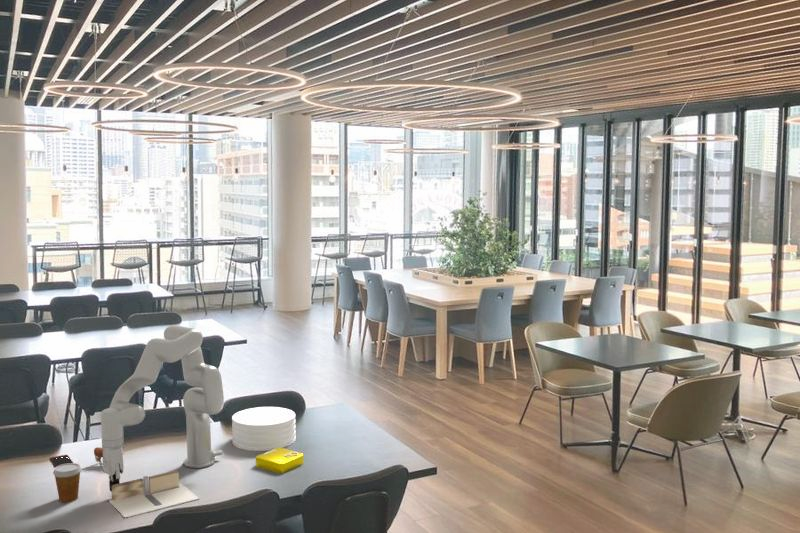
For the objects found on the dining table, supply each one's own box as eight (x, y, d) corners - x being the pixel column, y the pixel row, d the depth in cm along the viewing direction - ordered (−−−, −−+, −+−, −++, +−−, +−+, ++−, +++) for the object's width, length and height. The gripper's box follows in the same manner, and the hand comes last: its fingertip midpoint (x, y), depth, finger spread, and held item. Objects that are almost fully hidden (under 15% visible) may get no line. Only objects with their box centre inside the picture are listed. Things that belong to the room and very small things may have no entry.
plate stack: (264, 426, 374) (264, 403, 373) (308, 438, 358) (308, 413, 356) (219, 442, 351) (218, 417, 350) (264, 455, 335) (263, 429, 334)
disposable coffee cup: (59, 494, 293) (58, 463, 292) (86, 493, 294) (84, 462, 293) (50, 504, 284) (49, 472, 283) (77, 503, 285) (76, 471, 283)
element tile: (279, 456, 335) (278, 445, 334) (305, 463, 326) (305, 452, 326) (253, 467, 323) (253, 455, 322) (280, 475, 314) (280, 463, 314)
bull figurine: (122, 468, 320) (121, 448, 319) (92, 465, 323) (91, 446, 322) (128, 464, 324) (127, 445, 323) (98, 461, 327) (97, 442, 326)
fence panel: (142, 492, 292) (141, 478, 292) (143, 493, 291) (142, 479, 291) (112, 499, 286) (111, 485, 285) (113, 501, 285) (112, 486, 284)
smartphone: (67, 454, 334) (75, 464, 322) (67, 456, 334) (75, 466, 322) (49, 457, 330) (56, 468, 318) (49, 459, 331) (56, 470, 318)
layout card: (180, 484, 303) (179, 466, 302) (199, 499, 289) (198, 481, 288) (108, 501, 287) (107, 483, 286) (124, 518, 273) (124, 499, 272)
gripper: (96, 438, 292) (98, 486, 294) (108, 449, 280) (110, 499, 282) (116, 434, 296) (118, 482, 298) (129, 445, 285) (131, 494, 287)
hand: (114, 490), depth 290 cm, fingers closed
